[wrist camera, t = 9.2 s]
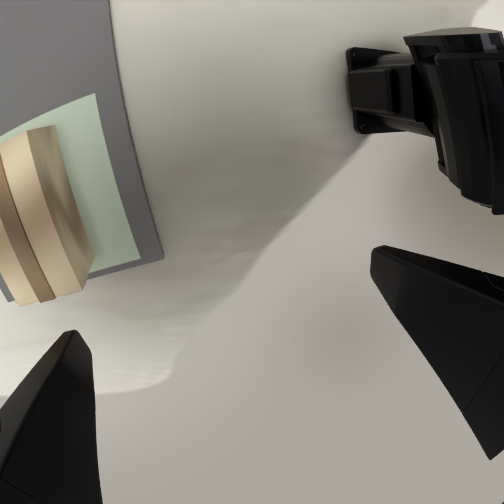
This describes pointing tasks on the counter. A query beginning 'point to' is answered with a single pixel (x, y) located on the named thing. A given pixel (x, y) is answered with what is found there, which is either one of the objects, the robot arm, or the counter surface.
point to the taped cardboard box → (40, 221)
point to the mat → (78, 120)
